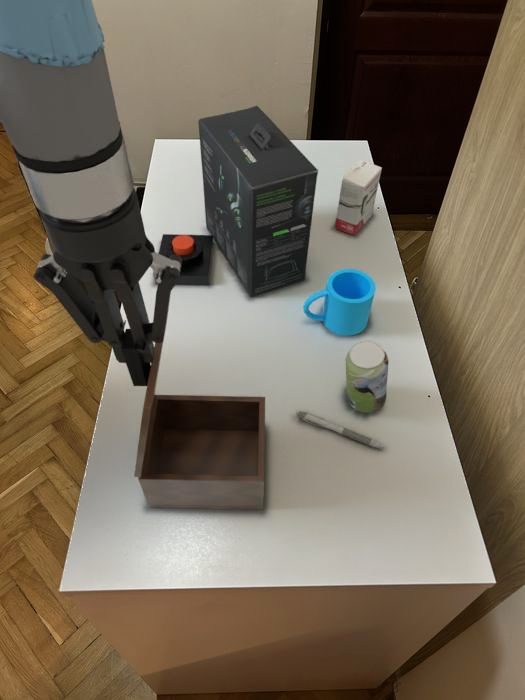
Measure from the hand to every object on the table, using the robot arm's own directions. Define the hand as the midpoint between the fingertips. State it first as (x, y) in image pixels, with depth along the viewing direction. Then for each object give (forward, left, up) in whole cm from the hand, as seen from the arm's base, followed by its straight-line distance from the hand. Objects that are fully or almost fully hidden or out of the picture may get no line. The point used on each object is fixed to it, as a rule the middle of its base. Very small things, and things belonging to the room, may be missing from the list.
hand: (142, 376), depth 59 cm
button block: (-2, +43, -22) cm, 48 cm away
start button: (-2, +43, -18) cm, 47 cm away
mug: (+26, +29, -22) cm, 45 cm away
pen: (+25, +6, -22) cm, 34 cm away
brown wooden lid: (+1, 0, -5) cm, 5 cm away
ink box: (+32, +57, -22) cm, 69 cm away
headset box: (+11, +46, -22) cm, 52 cm away
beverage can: (+29, +12, -22) cm, 39 cm away
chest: (+6, 0, -22) cm, 23 cm away
